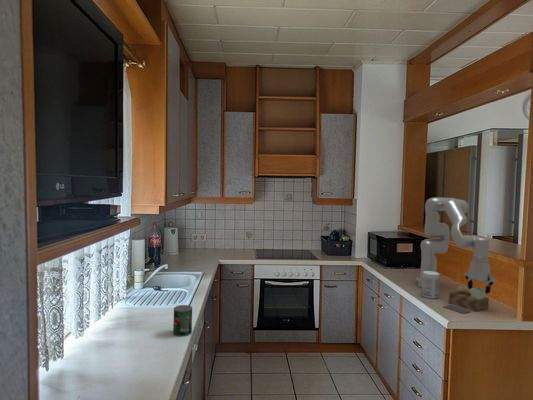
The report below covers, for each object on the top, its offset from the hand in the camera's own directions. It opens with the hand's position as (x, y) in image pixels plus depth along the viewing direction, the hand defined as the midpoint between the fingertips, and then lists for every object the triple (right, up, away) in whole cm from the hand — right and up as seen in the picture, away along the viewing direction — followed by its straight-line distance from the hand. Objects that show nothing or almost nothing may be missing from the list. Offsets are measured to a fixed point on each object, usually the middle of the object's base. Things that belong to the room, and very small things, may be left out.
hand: (478, 290), depth 219 cm
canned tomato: (-154, -8, -47) cm, 161 cm away
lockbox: (-3, -10, +5) cm, 11 cm away
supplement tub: (-19, -8, +20) cm, 29 cm away
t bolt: (-2, -3, +10) cm, 11 cm away
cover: (0, -4, +1) cm, 4 cm away
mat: (-13, -10, -2) cm, 17 cm away
